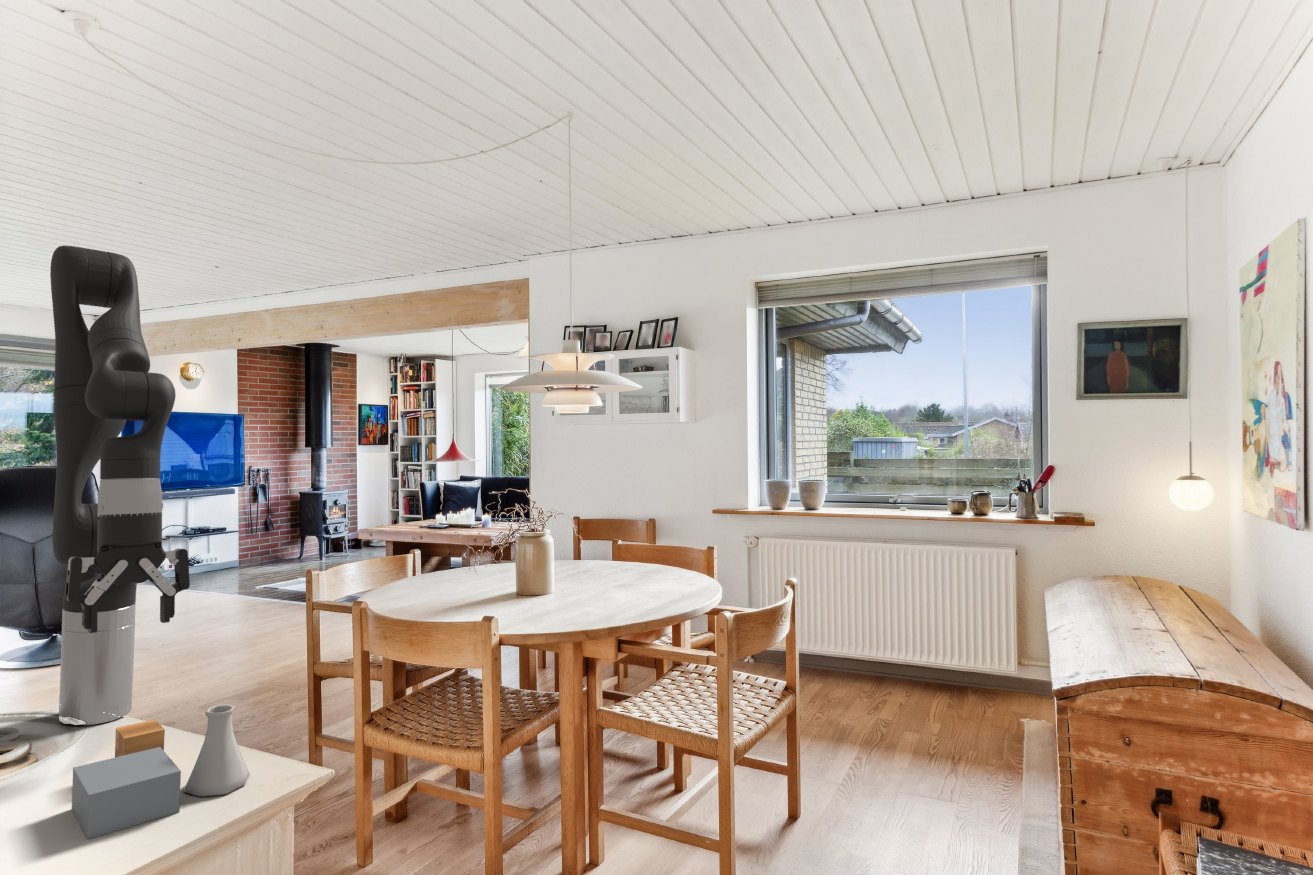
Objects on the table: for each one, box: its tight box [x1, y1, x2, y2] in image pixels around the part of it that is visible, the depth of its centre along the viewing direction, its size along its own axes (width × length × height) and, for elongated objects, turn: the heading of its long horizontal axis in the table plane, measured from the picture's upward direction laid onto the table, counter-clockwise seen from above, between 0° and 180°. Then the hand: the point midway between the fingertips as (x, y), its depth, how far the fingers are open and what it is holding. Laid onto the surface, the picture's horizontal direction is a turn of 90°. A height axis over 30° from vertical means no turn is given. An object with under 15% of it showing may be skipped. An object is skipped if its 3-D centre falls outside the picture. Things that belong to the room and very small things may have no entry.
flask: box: [183, 703, 250, 797], centre depth 98 cm, size 7×7×10 cm
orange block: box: [114, 719, 165, 758], centre depth 100 cm, size 4×4×6 cm
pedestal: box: [71, 747, 182, 840], centre depth 91 cm, size 9×9×5 cm
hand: (129, 627), depth 106 cm, fingers open, 8 cm apart
